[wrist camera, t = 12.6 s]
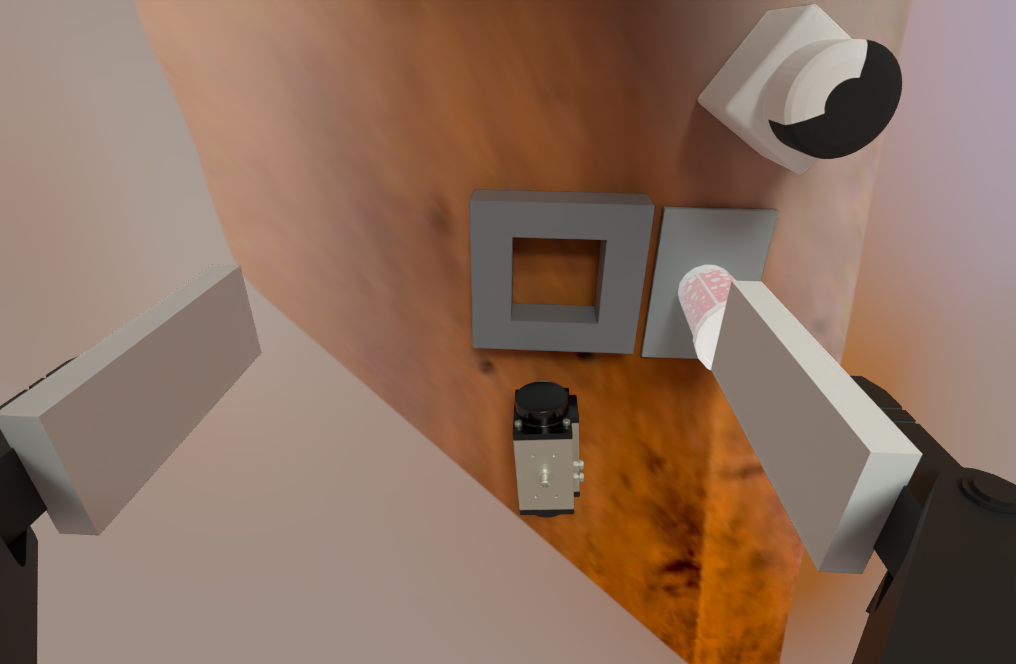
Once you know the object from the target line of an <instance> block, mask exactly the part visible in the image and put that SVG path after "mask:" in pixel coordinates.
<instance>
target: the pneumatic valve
mask: <svg viewBox="0 0 1016 664" xmlns="http://www.w3.org/2000/svg"><path fill="white" fill-rule="evenodd" d="M513 443H514V454H515V465H516V477H517V488H518V499H519V511H520V515H536V516H539V517H545V518H548V517H555V516H558V515H560V514H574V497H579V496H580V482H584V474H583V472H579V467H580V470H583V469H584V463H583V460H579V414H578V405H577V396H576V395H569V388H563V387H562V386H560V385H558V384H557V383H552V382H550V381H546V380H540V381H536V382H533V383H530V384H527V385H525V386H523V387H522V388H520V389H519V390H515V406H514V422H513ZM579 474H580V475H579Z"/></svg>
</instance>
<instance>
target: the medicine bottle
mask: <svg viewBox="0 0 1016 664" xmlns="http://www.w3.org/2000/svg"><path fill="white" fill-rule="evenodd" d="M901 91H902V75H901V70H900V66H899V64H898V62H897V59H896V58H895V56H894V55H893V54H892V53H891V52H890V51H889V50H888V49H887V48H886V47H884V46H883V45H881V44H879V43H877V42H875V41H871V40H865V39H852V38H851V37H850V36H849V35H848V34H846V33H845V32H844V31H843V30H842V29H841V28H840V27H839V26H838V25H837V24H836V23H835V22H834V21H833V20H832V19H831V18H830V17H829V16H828V15H827V14H826V13H825V12H824V11H823V10H822V9H821V8H820V7H819V6H818V5H816V4H810V5H803V6H795V7H788V8H781V9H773V10H768V11H767V12H766V13H765V14H764V16H763V17H762V18H761V19H760V21H759V22H758V23H757V24H756V26H755V27H754V28H753V29H752V31H751V32H750V33H749V34H748V36H747V37H746V38H745V39H744V41H743V42H742V43H741V44H740V46H739V47H738V48H737V49H736V51H735V52H734V53H733V54H732V55H731V57H730V58H729V59H728V60H727V62H726V63H725V64H724V65H723V67H722V68H721V69H720V70H719V72H718V73H717V74H716V75H715V77H714V78H713V79H712V80H711V82H710V83H709V84H708V85H707V87H706V88H705V89H704V90H703V92H702V93H701V94H700V95H699V97H698V103H699V104H700V105H701V106H703V107H704V108H705V109H706V110H707V111H709V112H710V113H711V114H712V115H713V116H715V117H716V118H717V119H718V120H719V121H720V122H722V123H723V124H724V125H725V126H726V127H728V128H729V129H730V130H731V131H732V132H734V133H735V134H736V135H737V136H738V137H740V138H741V139H742V140H743V141H744V142H745V143H747V144H748V145H749V146H750V147H751V148H753V149H754V150H755V151H756V152H757V153H759V154H760V155H761V156H763V157H765V158H767V159H769V160H771V161H773V162H775V163H777V164H779V165H781V166H783V167H785V168H787V169H789V170H791V171H793V172H795V173H797V174H803V173H804V172H805V171H806V170H807V169H808V168H809V167H810V166H811V165H812V164H813V163H814V162H815V161H816V160H817V159H818V158H821V159H833V158H840V157H843V156H847V155H849V154H852V153H854V152H856V151H858V150H860V149H862V148H863V147H865V146H866V145H868V144H869V143H870V142H871V141H873V140H874V139H875V138H876V137H877V136H878V135H879V134H880V133H881V132H882V131H883V130H884V128H885V127H886V126H887V124H888V123H889V121H890V120H891V118H892V117H893V115H894V113H895V111H896V108H897V106H898V103H899V100H900V96H901Z"/></svg>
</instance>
